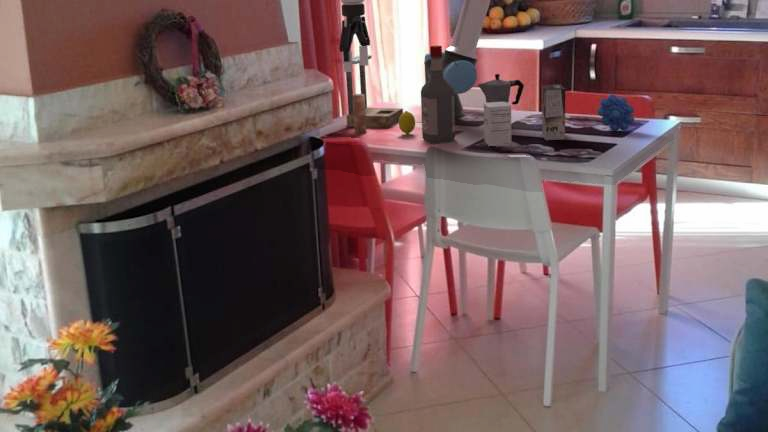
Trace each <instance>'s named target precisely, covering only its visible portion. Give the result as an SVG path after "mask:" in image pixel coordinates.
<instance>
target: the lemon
mask: <svg viewBox="0 0 768 432" xmlns="http://www.w3.org/2000/svg"><path fill="white" fill-rule="evenodd" d="M398 126H399V130H400V131H401V132H402V133H404V134H405V135H409V134H410V133H412V132H413V131H414V130H415V127H416V118H415V116H414V114H413V113H412V112H410V111H408V110H405V111H403V113H402V114H401V115H400V117H399V122H398Z"/></svg>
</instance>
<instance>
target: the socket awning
mask: <svg viewBox="0 0 768 432" xmlns="http://www.w3.org/2000/svg"><path fill="white" fill-rule="evenodd" d="M370 59H372V55H371V54H370V55H369V54H368V60H370ZM358 64H359V66H358V68H359V81H360V82H359V83H360V86H359V87H360V94H364V98H365V115H366V128H383V129H386V128H387V129H389V128H391V127H393V126H395V125H397V124H399V117H400V115H401V114H402V113H404V109H403V108H397V107H396V108H395V107H393V108H392V107H390V108H389V107H368V102H367V101H368V100H367V99H368V98H367V96H368V95H367V83H366V82H367V81H366V80H367V79H366V66H360V54H358V55H356V56H353V57H352V65H358ZM352 72H353V71H352ZM352 72H345V77H346V95H347V110H348V114H346V127H353V128H354V112H353V96H352V95H354V89H353V75H352Z"/></svg>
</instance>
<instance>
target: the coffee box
mask: <svg viewBox="0 0 768 432" xmlns="http://www.w3.org/2000/svg"><path fill="white" fill-rule="evenodd" d="M541 136H542V137H543V138H544V140H545V141H556V140H557V141H558V140H565V139H566V88H565V87H564V86H563V85H562V84H560V83H559V84H544V85H541Z"/></svg>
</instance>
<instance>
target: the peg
mask: <svg viewBox="0 0 768 432" xmlns="http://www.w3.org/2000/svg"><path fill="white" fill-rule="evenodd" d="M352 96H353V112H354V127H353V128H354V134H356V135H364V134H367V127H366V115H365V98H364V94H361V93H356V94H353V95H352Z"/></svg>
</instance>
